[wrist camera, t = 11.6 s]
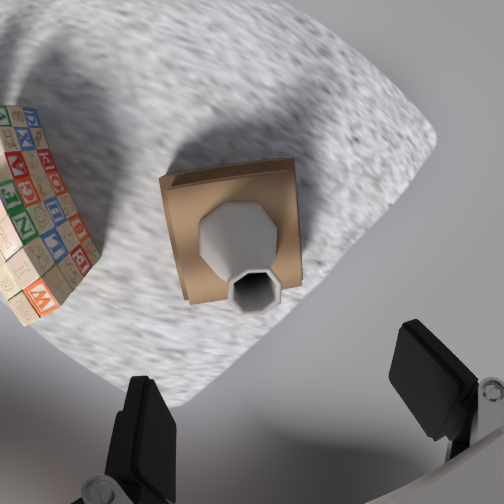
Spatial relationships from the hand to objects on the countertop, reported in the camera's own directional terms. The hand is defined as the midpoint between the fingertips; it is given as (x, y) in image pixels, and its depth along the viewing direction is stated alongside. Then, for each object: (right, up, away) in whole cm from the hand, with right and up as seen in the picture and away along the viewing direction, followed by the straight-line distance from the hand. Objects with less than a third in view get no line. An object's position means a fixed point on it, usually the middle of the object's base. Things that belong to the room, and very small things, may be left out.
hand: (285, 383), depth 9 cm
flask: (-2, +6, +16) cm, 17 cm away
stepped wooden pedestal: (-3, +8, +22) cm, 24 cm away
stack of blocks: (-26, +12, +18) cm, 34 cm away
